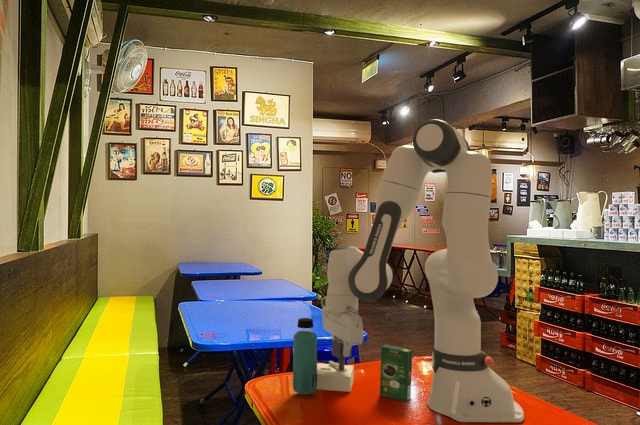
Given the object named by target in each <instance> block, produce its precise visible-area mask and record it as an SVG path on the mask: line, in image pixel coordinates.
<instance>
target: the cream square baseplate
mask: <svg viewBox="0 0 640 425" xmlns="http://www.w3.org/2000/svg"><path fill="white" fill-rule="evenodd" d="M336 363H337V364H339V362H336ZM354 369H355V365H352V364H351V365H348V364H347V365H346V364H345V363H344V370H339V368H338V367H336V366H334V365H332V364H330V363H320V362H319V363H318V362H317V389H316V390H321V391H322V390H323V391H333V392H334V391H336V392H349V393H350V392H351V391H352V386H353V383H354V379H355V378H354V377H355V376H354V375H355V371H354Z"/></svg>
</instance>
